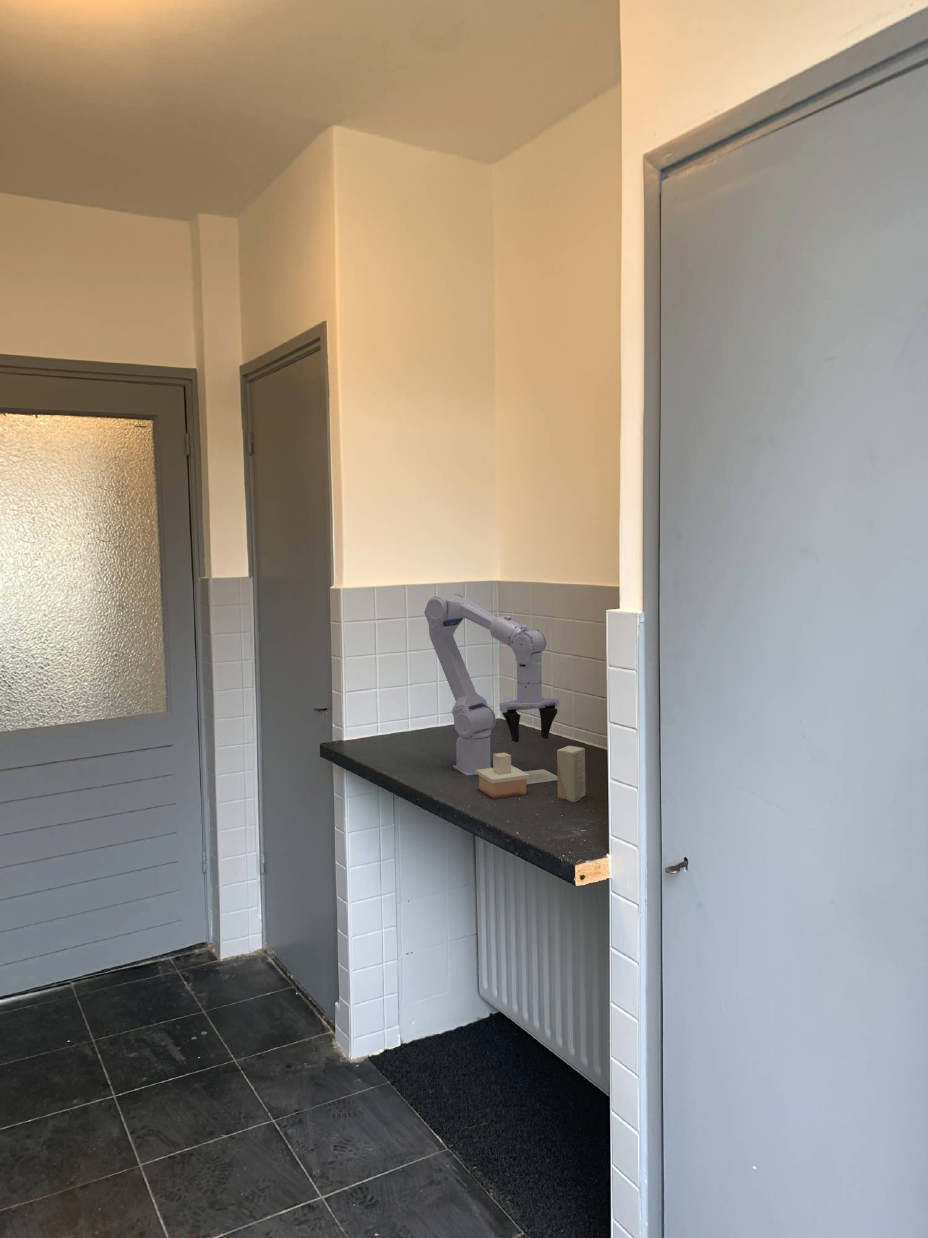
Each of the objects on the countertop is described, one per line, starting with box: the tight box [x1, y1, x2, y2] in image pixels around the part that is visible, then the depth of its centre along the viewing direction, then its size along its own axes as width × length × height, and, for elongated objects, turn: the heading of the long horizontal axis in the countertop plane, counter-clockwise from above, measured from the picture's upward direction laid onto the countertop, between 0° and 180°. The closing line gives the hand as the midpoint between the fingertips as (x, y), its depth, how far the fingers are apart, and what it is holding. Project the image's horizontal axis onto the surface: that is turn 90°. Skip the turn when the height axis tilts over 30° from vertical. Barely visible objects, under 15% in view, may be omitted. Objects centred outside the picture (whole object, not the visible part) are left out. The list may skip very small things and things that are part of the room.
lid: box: [476, 752, 529, 783], centre depth 201 cm, size 9×9×5 cm
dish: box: [478, 775, 527, 800], centre depth 201 cm, size 8×8×4 cm
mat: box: [524, 768, 557, 785], centre depth 214 cm, size 10×10×1 cm
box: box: [556, 745, 586, 803], centre depth 196 cm, size 5×4×11 cm
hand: (530, 739), depth 210 cm, fingers open, 7 cm apart
